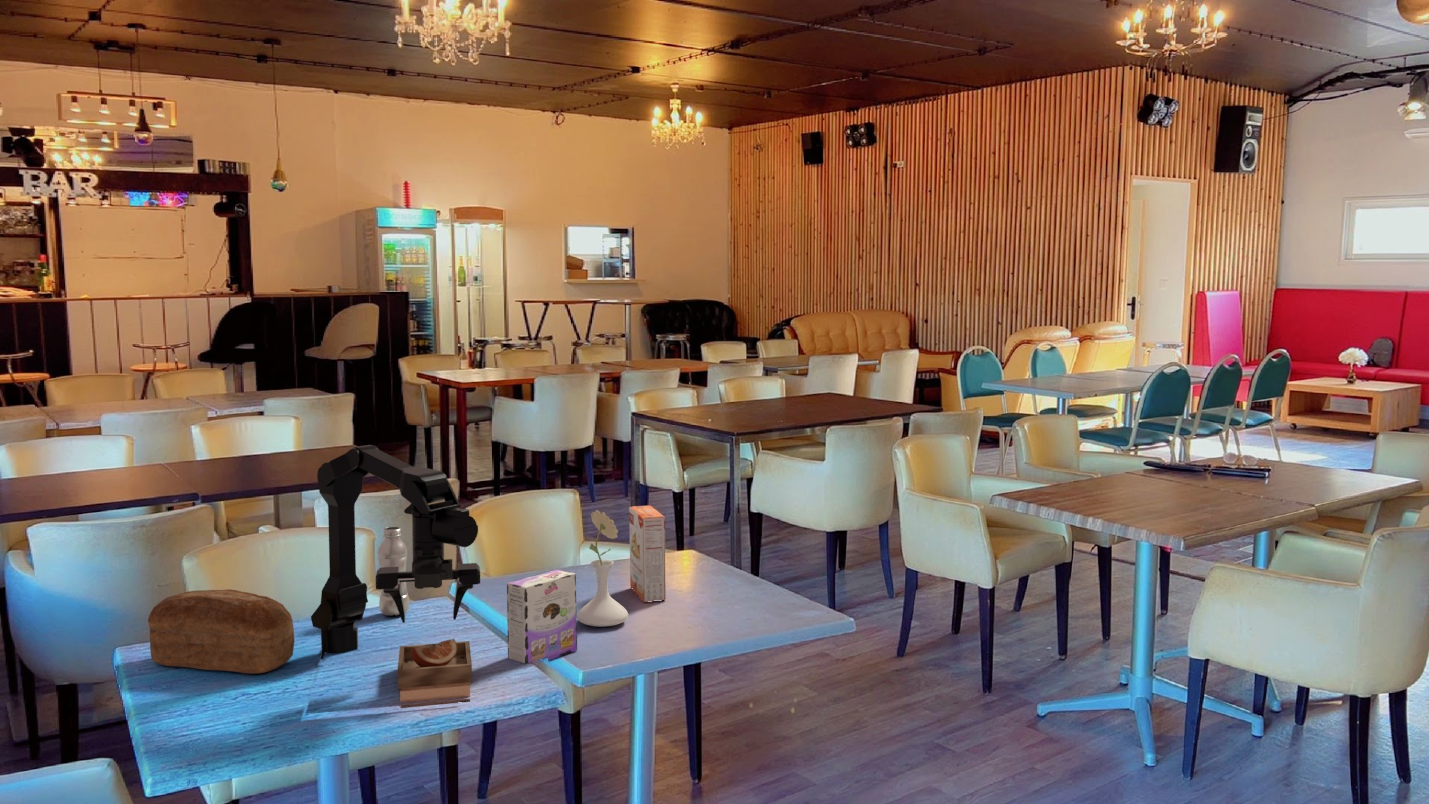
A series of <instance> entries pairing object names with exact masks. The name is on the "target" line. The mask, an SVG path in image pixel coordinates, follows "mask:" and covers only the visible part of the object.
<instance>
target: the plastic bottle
mask: <svg viewBox="0 0 1429 804" xmlns="http://www.w3.org/2000/svg"><path fill="white" fill-rule="evenodd" d="M401 531H402V529H401V527H399V526H387V527H384V528H383V538H384V539H383V540H382V542H381V544H380V545H379V546H378V549H377V558H378V563H379V568H381V567H399V572H407V569H406V568H407V559H408V548H407V546H406V544H405V543H404V541H403V540H402V539H401V537H402V532H401ZM401 587H402V595H403V602H404V609H405V614H406V613H407V612H408V611H409V609H410V597H409V593H408V587H407V582H401ZM378 604H379V610H380V612H381V614H382V615H384V616H392V617H393V615H395V616H400V614H399V611H398V609H397V606H396V604H395V602H394V600H393V598H392V597H391V595H390V594H389V593H384V592H383V589H380V595H379V602H378Z"/></svg>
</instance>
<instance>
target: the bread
mask: <svg viewBox="0 0 1429 804" xmlns="http://www.w3.org/2000/svg"><path fill="white" fill-rule="evenodd" d="M147 623H148V624H147V625H148V626H149V648H150V649H149V650H150V657H151V658H150V659H151V661H153V662H154V663H156V664H158V665H161V666H166V667H180V668H181V667H182V668H192V669H199V670H205V671H206V670H207V671H224V672H225V671H227V672H235V673H241V674H263V673H267V672H270V671H273V670H277V669H278V668H279V667H281V666H283V665H285V664H287V663H288V661H289V660H290V659H291V658H292V657H293V654H294V649H295V628H294V620H293V618H292V615H291V612H289V611H288V609H287V608H286V607H285V606H284V604H283V603H281V602H279V601H277V600H276V599H273V598H271V597H269V596H264V595H258V594H256V593H252V592H245V591H240V590H236V589H208V590H207V589H206V590H192V591H185V592H182V593H179V594H175V595H171V596H167V597H165V598H164V599H162V600H161V601H160V602H158V603H157V604H156V605H154V607H153V608H152V609H151V611H150V613H149V616H148V619H147Z"/></svg>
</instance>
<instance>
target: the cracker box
mask: <svg viewBox="0 0 1429 804" xmlns="http://www.w3.org/2000/svg"><path fill="white" fill-rule="evenodd" d="M628 511H629V513H628V516H629V519H628V520H629V570H630V571H629V574H630V575H629V576H630V577H629V580H630V582H629V583H630V586H631V587H630V588H631V589H632V588H633V590H634V591H635V592H636V593H635V592H634V591H633V590H632V591H633V592H634V593H635V594H636V596H637V595H638V596H639V597H640V598H639V597H638V596H637V597H638V598H639V600H641V602H642V601H643V602H648V601H654V600H665V599H666V598H667V597H666V592H667V591H666V518H665V517H666V516H664V515H663V514H661V513H660V511H658V510H657V509H656V508H654V507H653V506H652V505H633V506H629V508H628ZM666 600H667V599H666ZM643 602H642V603H643Z"/></svg>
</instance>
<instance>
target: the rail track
mask: <svg viewBox="0 0 1429 804" xmlns="http://www.w3.org/2000/svg"><path fill="white" fill-rule="evenodd" d="M468 697H471V683H470V682H469V683H457V684H445V685H434V686H422V687H410V688H400V689H399V702H400V709H406V708H417V707H427V706H437V705H439V706H440V705H446V704H447V705H450V704H459V703H458V702H462V703H471V698H468ZM459 698H460V699H459ZM461 698H463V699H461ZM449 699H450V700H449ZM451 699H452V700H451ZM435 700H438V701H435ZM440 700H442V701H440ZM425 701H426V702H425ZM427 701H428V702H427ZM429 701H430V702H429ZM412 702H413V703H412ZM414 702H417V703H414ZM419 702H420V703H419ZM404 703H405V704H404ZM406 703H408V704H406Z"/></svg>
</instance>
